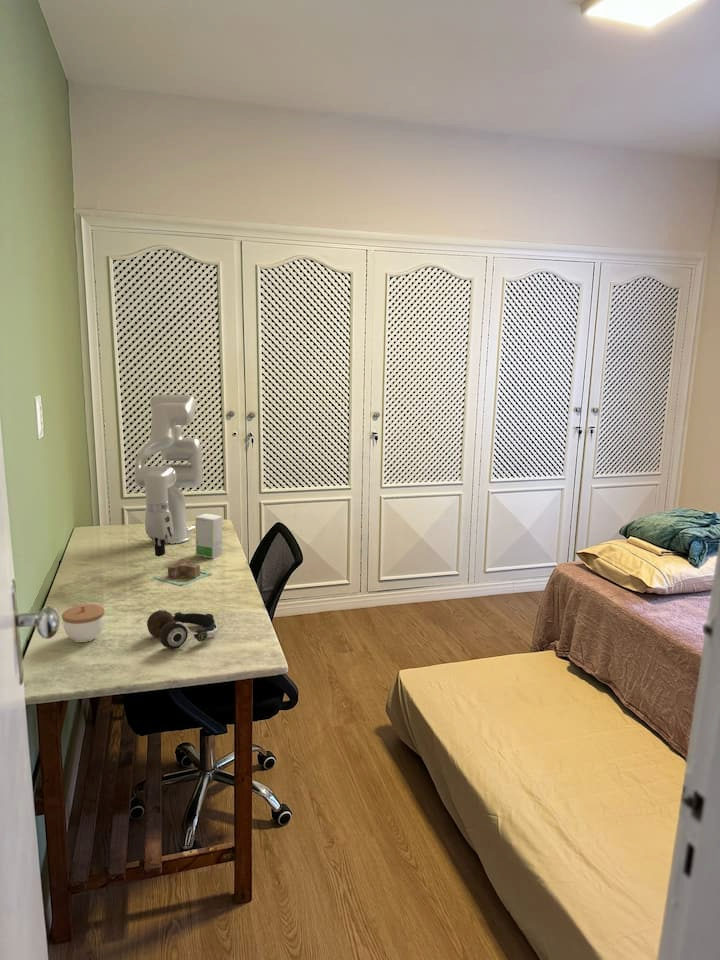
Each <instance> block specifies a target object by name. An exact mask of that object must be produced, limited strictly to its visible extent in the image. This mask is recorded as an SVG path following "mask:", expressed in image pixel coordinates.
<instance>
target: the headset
mask: <svg viewBox="0 0 720 960" xmlns="http://www.w3.org/2000/svg"><path fill="white" fill-rule="evenodd" d="M215 622H216V620H215V618H214V615H213V614H212V613H206V614H204V613H182V612H180V611H177V612H175V613H174V614H173V615H172V613H171V612H169V611H168V610H167V609H165V608H161V609H159V610H156V611H154V612H153V613H151V615H149V617H148V619H147V622H146V626H147V631H148V632H149V634H150V635H151V636H153V637H155V638H159V640H160V643H161V644H162V646H163V647H165V648H169V649H172V650H180V648H181V649H182V648H184V647H185V646H186V645H188V643H189V642H190V641H192V640H194V641H195V640H196V641H198V642H201V643H203V642H205V641H206V640H207V638H212V637H215V636H216V633H217V632H218V625H217V624H216V623H215ZM186 624H191V625H192V624H193V625H197V626H201V627H203V628H197V629H196V630H194V631H195V632H192V631H191V630H190V629H189V628H188V626H187V625H186ZM188 634H191V635H193V637H191V638H189V639H188Z"/></svg>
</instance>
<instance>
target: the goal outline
mask: <svg viewBox="0 0 720 960" xmlns="http://www.w3.org/2000/svg"><path fill="white" fill-rule="evenodd" d="M200 572H201V573H200V574H203V575H200V576H199V577H197V578H192V579H191V580H188V581H186V582H184V583H179V582H175V581H173V580H168V579H165V578H162V577H158V576H153V579H157V580H160V581H162V582H166V583H170V584H173V585H176V586H179V587H183V586H186V585H187V584H190V582H191V583H193V582H196V581H198V580H201V579H203V578H205V576H206V577H209V576H211V575H210V574H211V573H210V572H205V571H202V570H200ZM204 573H205V574H204ZM208 575H209V576H208ZM202 577H203V578H202ZM200 578H201V579H200ZM197 579H198V580H197ZM195 580H196V581H195ZM192 581H193V582H192ZM185 584H186V585H185Z"/></svg>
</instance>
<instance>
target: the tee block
mask: <svg viewBox="0 0 720 960" xmlns="http://www.w3.org/2000/svg"><path fill="white" fill-rule="evenodd" d="M200 571H201V565H200V564H196V563H191V559H186V558H185V559H184V558H182V559H181V560H177V562H175V563H173V564H170V565H169V566H167V578H168V579H173V580H176V578H177V579H178V578H180V577H182V576H185V577H184V578H189V577H191V578H190V579H196V577H197V578H198V576H199V577H201V573H200Z"/></svg>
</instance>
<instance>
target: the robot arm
mask: <svg viewBox="0 0 720 960" xmlns="http://www.w3.org/2000/svg"><path fill="white" fill-rule="evenodd" d="M149 405H150V409H151V423H150V435H149V440H148V442H147V443H145V444H144V446H142V448H140V450H139V452H138V454H137V455H136V458H135V463H134V464H135V465H134V482H135V484H136V486H138V487H140V488H144V489H145V491H144V493H145V494H144V495H145V507H146V508H145V517H144V521H145V523H144V527H145V533H146V535H147V537H148V538H149V539H151V540H152V543H153V544H152V545H153V546H154V556H156V557H161V556H165V555H166V544H168V543H170V544H169V545H171V544H175V543H176V544H181V543H182V542H183V543H186V542H188V541H190V540H191V535H190V534H189V533H191V532H193V531H196V526H194V525H193V526H189V527H188V526H187V516H186V515H187V514H186V513H187V511H186V510H187V509H186V497H185V495H184V493H183V492H182V491H181V489H183V488H184V489H185V488H186V489H187V488H198V487H200V486H202V482H203V462H202V461H203V457H202V456H203V455H202V454H203V453H202V445H201V442H200V440H199V439H198V438H196V437H183V435H182V434H183V427H182V426H190V424H192V422H193V419H194V416H195V414H196V412H197V411H196V410H197V401H196V399H195V397H194V396H192V395H191V394H157V395H156V394H155V395H153V396H152V397H150V400H149ZM159 452H160V457H162V459H163V460H164V461H167V462H189V463H190V464H187V463H186V464H185V463H184V464H182V463H177V464H175V463H174V464H173V463H171V464H170V463H169V464H164V465H161V466H159V465H157V466H155V465H154V466H149V465H148V466H145V464H146V462H147V460H148V459H149V458H150V457H151V456H154V455H155V454H157V453H159ZM183 543H182V544H183Z"/></svg>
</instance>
